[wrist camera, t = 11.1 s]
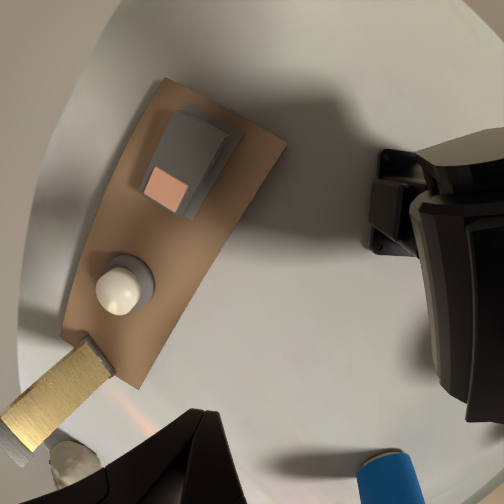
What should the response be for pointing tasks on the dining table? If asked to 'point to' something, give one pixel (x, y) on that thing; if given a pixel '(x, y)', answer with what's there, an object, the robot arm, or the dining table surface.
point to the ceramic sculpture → (72, 463)
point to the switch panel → (163, 232)
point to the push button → (118, 291)
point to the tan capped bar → (52, 399)
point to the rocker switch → (182, 162)
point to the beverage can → (389, 480)
